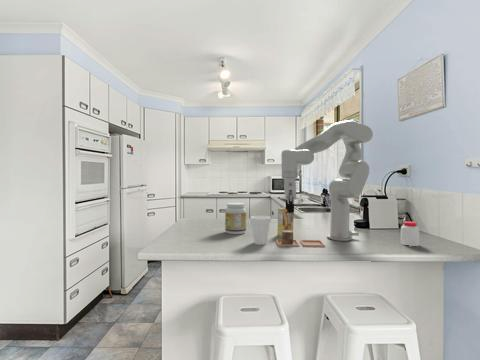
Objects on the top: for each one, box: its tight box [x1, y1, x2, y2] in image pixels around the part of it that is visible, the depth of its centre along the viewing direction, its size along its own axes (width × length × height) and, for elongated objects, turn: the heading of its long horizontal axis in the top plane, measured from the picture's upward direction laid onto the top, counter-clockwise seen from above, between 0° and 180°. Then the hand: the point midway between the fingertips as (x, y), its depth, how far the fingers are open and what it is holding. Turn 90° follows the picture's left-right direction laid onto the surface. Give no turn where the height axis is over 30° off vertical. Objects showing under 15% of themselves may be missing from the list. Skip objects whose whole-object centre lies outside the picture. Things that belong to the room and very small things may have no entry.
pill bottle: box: [400, 220, 420, 247], centre depth 143 cm, size 8×8×11 cm
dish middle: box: [275, 238, 300, 248], centre depth 142 cm, size 10×10×1 cm
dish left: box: [299, 239, 326, 248], centre depth 141 cm, size 10×10×1 cm
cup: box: [250, 215, 272, 246], centre depth 143 cm, size 10×10×13 cm
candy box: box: [276, 207, 295, 237], centre depth 162 cm, size 9×4×15 cm, turn 129°
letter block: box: [281, 230, 294, 244], centre depth 142 cm, size 5×5×6 cm
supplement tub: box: [224, 201, 247, 235], centre depth 168 cm, size 12×12×17 cm
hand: (289, 210), depth 142 cm, fingers open, 9 cm apart
